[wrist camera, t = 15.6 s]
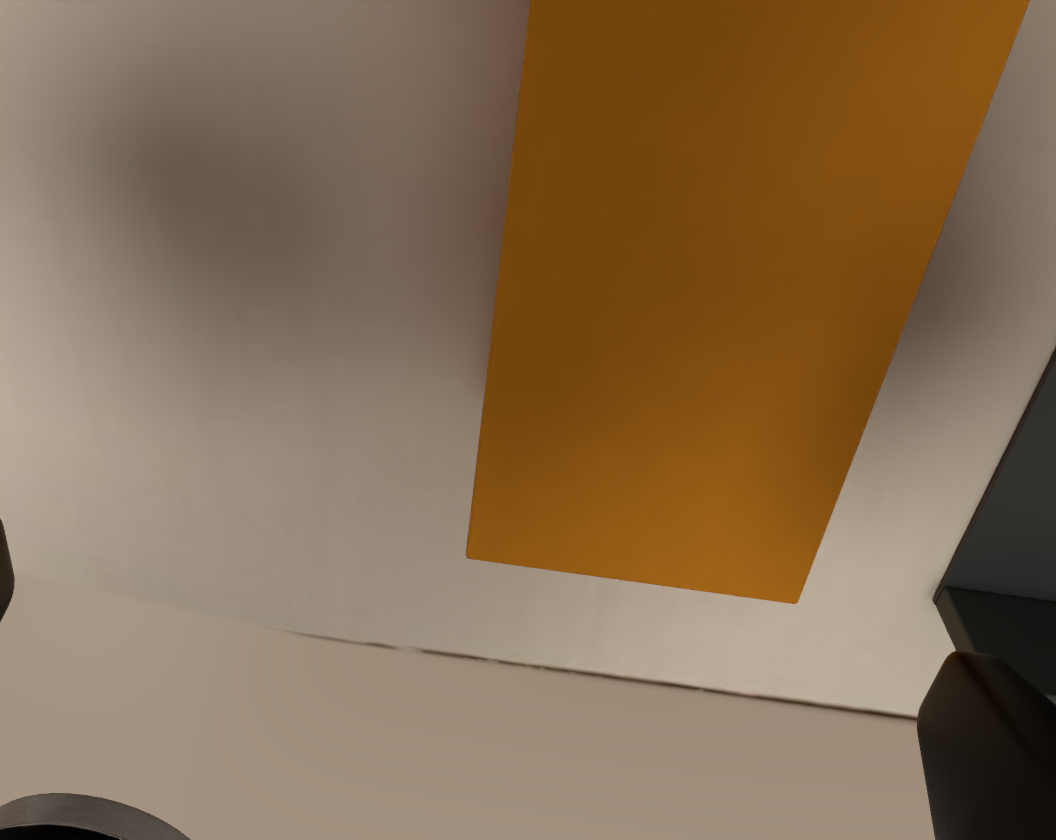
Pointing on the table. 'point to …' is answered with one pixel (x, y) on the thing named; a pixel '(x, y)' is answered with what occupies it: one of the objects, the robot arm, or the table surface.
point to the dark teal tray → (1012, 555)
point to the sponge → (713, 272)
